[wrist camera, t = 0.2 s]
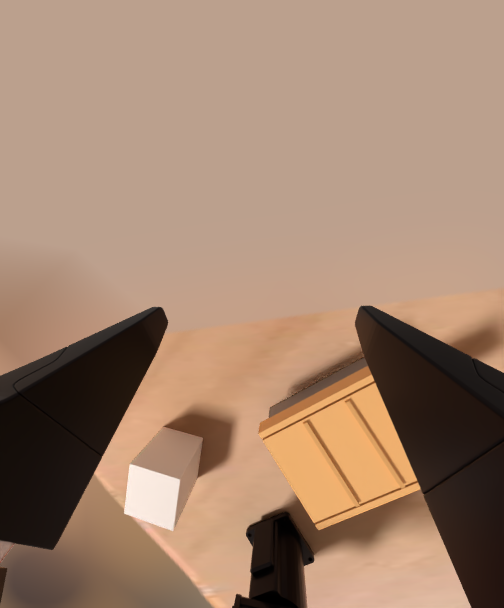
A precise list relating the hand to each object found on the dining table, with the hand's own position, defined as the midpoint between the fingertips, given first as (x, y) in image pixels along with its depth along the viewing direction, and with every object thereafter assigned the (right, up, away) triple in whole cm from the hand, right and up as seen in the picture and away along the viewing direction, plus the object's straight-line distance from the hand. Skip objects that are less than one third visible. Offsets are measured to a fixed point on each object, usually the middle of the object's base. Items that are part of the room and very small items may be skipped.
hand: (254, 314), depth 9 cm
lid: (+11, -12, +10) cm, 19 cm away
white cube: (-10, -20, +18) cm, 29 cm away
